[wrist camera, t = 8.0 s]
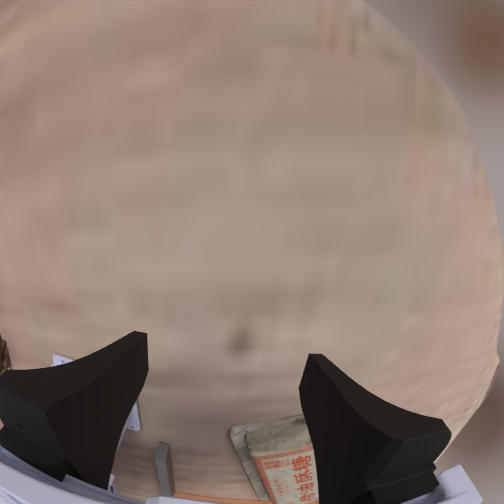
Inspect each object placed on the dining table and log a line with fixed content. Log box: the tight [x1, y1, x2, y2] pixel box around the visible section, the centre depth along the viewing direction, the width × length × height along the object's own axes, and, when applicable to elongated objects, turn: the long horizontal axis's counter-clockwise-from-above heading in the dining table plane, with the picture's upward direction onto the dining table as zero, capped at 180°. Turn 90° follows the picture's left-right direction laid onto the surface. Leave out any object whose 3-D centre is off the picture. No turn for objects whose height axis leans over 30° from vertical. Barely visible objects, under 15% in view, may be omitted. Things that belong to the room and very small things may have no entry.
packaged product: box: [230, 414, 319, 504], centre depth 24 cm, size 18×5×10 cm
